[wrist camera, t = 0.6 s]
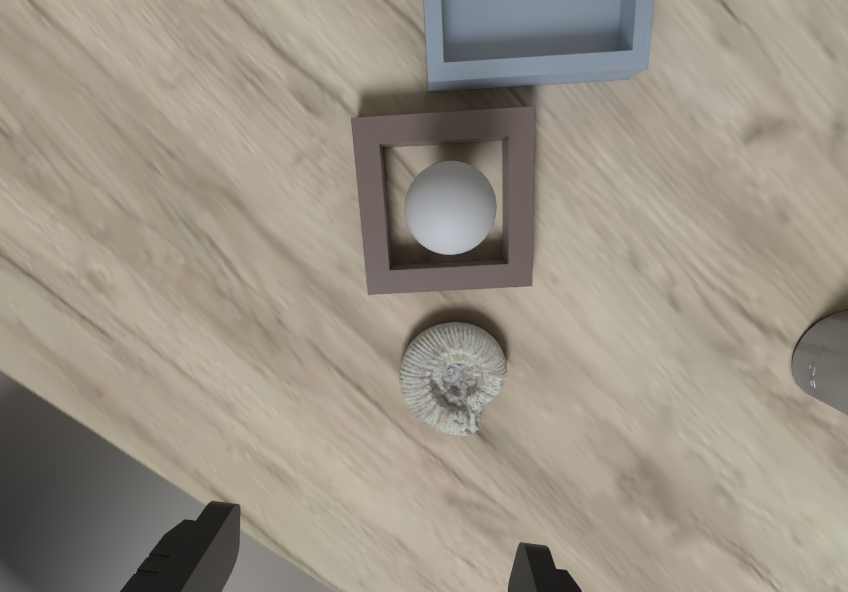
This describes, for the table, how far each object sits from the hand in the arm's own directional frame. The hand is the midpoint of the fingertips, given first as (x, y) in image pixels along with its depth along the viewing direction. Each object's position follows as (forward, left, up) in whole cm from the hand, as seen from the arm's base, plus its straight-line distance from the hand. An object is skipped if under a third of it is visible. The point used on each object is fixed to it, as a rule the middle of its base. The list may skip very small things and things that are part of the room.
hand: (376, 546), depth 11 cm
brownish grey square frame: (-3, -9, -26) cm, 27 cm away
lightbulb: (-3, -9, -26) cm, 28 cm away
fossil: (-3, +7, -26) cm, 28 cm away
